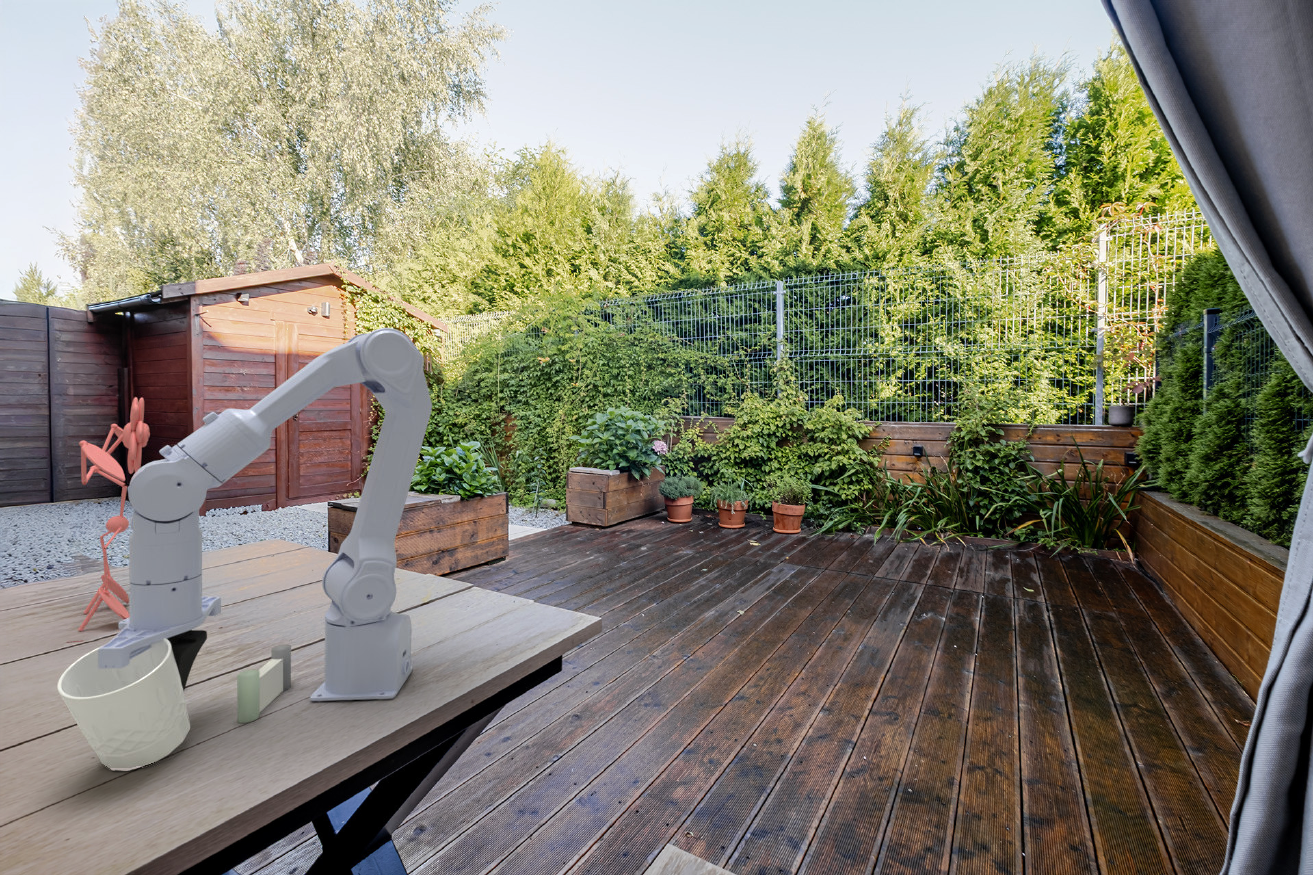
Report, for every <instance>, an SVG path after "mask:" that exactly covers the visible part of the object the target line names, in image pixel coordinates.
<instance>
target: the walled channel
mask: <svg viewBox="0 0 1313 875" xmlns="http://www.w3.org/2000/svg"><path fill="white" fill-rule="evenodd" d="M270 658H271V660H269V661H268V662H267V663H265V664H264V665H263V666H262V667H260V668H259V669H248V670H245V671H241V672H239V673H238V674H237V675H236V676H237V677H236V678H237V680H236V681H237V682H236V683H237V684H236V685H237V689H236V690H237V693H236V694H237V703H236V705H237V706H236V707H237V709H236V710H237V713H236V716H237V723H240V724H246V723H247V724H248V723H250V722H253V721H255V720H257V719H258V718H260V713H261V712H263V711H264V709H266V707H268V706H269V705H270V704H271V703H272V702H273V701H274V700H275V699H276V698H277V697H278V696H280V694H281V693H283V692H284V691H286V690H288V689H290V688H291V687H292V645H291V644H284V643H283V644H278V645H275V646H273V647H272V648H271V657H270Z"/></svg>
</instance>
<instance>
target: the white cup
mask: <svg viewBox="0 0 1313 875" xmlns="http://www.w3.org/2000/svg"><path fill="white" fill-rule="evenodd" d="M104 645H105V644H103V645H101V646H99V647H96V648H95V649H93V650H91V651H89V652H87V653H86V654H84V655H82V656H80V657H79V658H78V659H76V660H75V661H74V662H73V663H71V665H69V666H68V667H67V668H66V669H65V671H64V672H62V674H61V676H59V677H60V678H59V679H58V681H57V685H56V686H57V689H56V690H57V692H58V694H59V695H60V697H61V698H62V700H63V701H64V703H65V705H66V707H67V709H68V712H70V714H71V716H72V718H73V719H74V721H75V722H76V724H77V726H78V728H79V730H80V731H81V732H82V734H83V736H84V737H85V739H86V741H87V742H88V744H89V746H90V747H91V748H92V750H94V752H95V753H96V755H97V757H98V759H99V760H100V762H101V764H102V765H103V764H104V765H105V766H104V765H103V766H104V767H106V766H108V767H109V768H132V767H136V766H144V765H146V764H151V763H153V764H155V763H156V762H158V761H160V760H161V759H163V758H165V757H167V756H169V755H170V754H171V753H173V751H174V750H175V749H176V748H177V747H179V746H180V745H181V744H182V743H183V742H184V741H185V738H186V737H187V735H188V733H189V731H190V730H191V724H190V722H191V721H190V717H189V713H188V710H187V699H186V696H185V690H184V691H183V687H182V684H181V678H180V675H179V671H178V668H177V664H176V661H175V657H174V654H173V650H172V646H171V643H170V642H169V640H167V639H166V638H164V639H163V640H161V641H158V642H156V643H153V644H151V648H150V649H148V650H146V651H145V652H143V653H141V654H139V655H137V656H135V657H134V658H132V659H130V664H128V665H127V666H125V667H123V668H113V669H106V668H105V669H99V668H98V648H100V647H102V646H104ZM154 762H155V763H154ZM151 765H152V764H151Z"/></svg>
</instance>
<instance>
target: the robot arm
mask: <svg viewBox="0 0 1313 875" xmlns="http://www.w3.org/2000/svg"><path fill="white" fill-rule="evenodd" d="M424 362H425V358H424V356H423V354H422V353H421V352H420V350H419V349H418V347H417V346H416V345H415V343H414V342H413V341H412V340H411V339H410V337H409V336H408V335H406V334H405V333H404V332H402V331H401V330H398V329H395V328H392V327H391V328H390V327H382V328H377V329H375V330H373V331H371V332H367V333H360V334H357V335H355V336H353V337H351V338H350V339H349V340H348V341H347V342H346V343H342V344H339V345H337V346H335V347H334V348H330V349H329V350H328V351H325V352H324V353H322V354H320V355H319V356H317V357H316V358H314V359H313V360H311V361H310V362H309V363H308V364H306V365H305V366H304V367H302V368H301V369H300V370H299V371H297V372H296V373H294V375H292V376H291V377H289V378H288V379H287V380H285V381H284V382H282V383H281V384H280V385H279V386H278V387H276V388H275V389H273V390H272V391H271V392H270V393H269V394H268V395H266V396H265V397H263V398H262V399H261V400H260V401H258V402H257V403H255V404H254V405H253V406H252V407H250V408H249V409H242V408H241V409H239V408H226V409H225V410H224V411H222V412H220V413H219V414H217V413H216V412H215V411H211V412H210V413H208V414H207V415H206V416H204V417H203V418H202V422H204V423H205V424H203V425H202V426H200V427H199V428H198V429H197V430H195V431H194V432H192V433H191V434H190V435H188V436H187V437H185V438H183V439H182V440H181V441H179V442H177V444H175V445H174V446H172V447H171V445H168V444H167V445H165V446H163V447H162V448H161V449H160V450H159V454H160V455H161V456H163V457H164V459H160V460H159V459H158V460H153V461H151V462H148V463H146V464H145V465H143V466H140V469H139V470H138V471H137V472H136V473H135V472H134V474H133V476H132V477H131V479H130V482H129V486H127V493H128V494H127V495H128V501H129V503H130V505H131V506H132V509H133V511H132V512H133V513H132V515H131V517H130V521H129V526H130V529H131V530H132V533H131V534H130V535H129V537H128V545H129V546H128V548H129V549H128V552H129V553H128V562H129V563H128V566H129V567H128V569H129V570H128V571H129V572H128V573H129V575H128V576H129V577H128V578H129V579H128V580H129V581H128V582H129V586H128V587H129V589H128V591H129V595H128V598H129V603H128V604H129V615H130V617H129V618H127V619H125V620H124V619H122V620H120V621H119V622H118V630H120V631H119V632H118V633H117V634H115V636H114V637H112V639H111V640H110V641H108V642H107V643H105V644H103V645H104V646H103V645H101V646H102V647H101V646H99V647H100V648H99V647H97V648H98V668H99V669H105V668H106V669H113V668H123V667H125V666H127V665H128V664H130V659H132V658H134V657H135V656H137V655H139V654H141V653H143V652H145V651H146V650H148V649H150V648H151V644H153V643H156V642H158V641H161V640H163V639H164V638H166V639H167V640H169V642H170V643H171V646H172V650H173V654H174V657H175V661H176V664H177V668H178V671H179V675H180V678H181V684H182V687H183V691H184V692H185V691H186V685H187V683H188V679H189V676H190V672H191V671H192V670H191V669H192V667H193V665H194V662H195V660H196V658H197V656H198V654H199V652H200V650H201V648H202V647H203V646H204V644H205V642H206V641H207V639H208V632H207V630H204V629H201V630H199V629H197V628H198V627H199V626H201V625H203V624H204V623H205V622H206V619H207V618H209V617H213V616H214V617H215V616H218V615H219V614H221V612H222V608H221V607H222V597H221V596H203V531H202V529H201V528H200V509H201V508H202V506H203V504H204V503H205V500H206V498H207V491H208V490H210V489H213V488H219V487H221V486H223V484H225V483H226V482H227V481H229V480H230V479H231V478H232V477H233V476H235V475H236V474H238V473H239V472H240V471H242V470H243V469H244V468H246V467H247V466H248V465H249V464H251V463H252V462H254V460H256V459H257V458H258V457H260V456H261V455H263V454H264V453H266V451H268V450H269V449H270V448H271V445H272V442H271V441H272V437H271V436H272V432H273V431H274V430H276V429H277V427H279V426H281V425H282V424H283V423H285V422H286V421H287V420H289V419H290V418H292V417H293V416H294V415H296V414H298V413H299V412H300V411H302V410H303V409H305V408H306V407H307V406H309V405H311V404H313V402H315V401H316V400H318V399H319V398H321V397H323V395H325V394H326V393H328V392H329V391H330V390H332V389H334V388H336V387H337V388H338V387H341V386H348V385H355V384H361V385H363V387H365V388H366V389H368V390H369V391H370V392H371V393H372V395H373V396H374V397H375V399H376V401H377V402H378V403H379V405H380V406H381V407H382V409H383V410H384V412H385V413H384V417H383V418H384V419H383V421H382V424H381V427H380V432H379V435H378V438H377V440H376V444H375V449H374V452H373V455H372V458H371V462H370V466H369V469H368V472H367V475H366V479H365V482H364V486H363V489H362V491H361V497H360V499H359V503H358V506H357V509H356V513H355V516H354V519H353V524H352V526H351V530H350V532H349V534H348V535H347V536H346V538H345V539H344V540H342V542H341V545H340V547H339V550H338V552H337V555H336V557H335V558H334V560H333V561H332V562H331V563H330V564H329V565H328V566H327V567H326V569H325V571H324V573H323V576H322V579H321V580H322V581H321V583H322V584H321V586H322V589H323V592H324V594H325V595H326V597H328V598H329V599H330V600H331V603H330V606H329V608H328V609H327V611H326V613H325V615H324V682H322V683H321V685H320V686H318V688H317V689H316V690H315V691H314V692H313V693H312V694H311V695H310V697H309V700H310V701H311V702H317V701H318V702H320V701H321V702H325V701H354V700H356V701H357V700H358V701H359V700H386V699H387V700H388V699H390V700H391V699H395V697H396V696H397V695H398V693H399V692H400V690H401V688H402V687H403V685H404V684H405V682H406V680H407V679H408V677H409V676H410V675H411V673H412V671H413V669H414V668H413V666H412V630H413V629H412V620H411V619H412V618H411V616H410V615H409V614H404V613H398V612H394V611H392V610H391V608H392V606H393V605H394V603H395V600H396V597H397V586H396V582H395V572H396V569H397V564H398V560H397V555H396V548H395V540H396V536H397V533H398V530H399V526H400V523H401V519H402V516H403V513H404V510H405V505H406V502H407V498H408V494H409V491H410V488H411V483H412V481H413V477H414V474H415V470H416V466H417V463H418V461H419V460H418V459H419V456H420V453H421V449H422V446H423V442H424V438H425V435H426V432H427V428H428V424H429V421H430V417H431V414H432V408H433V404H432V399H431V396H430V391H429V387H428V384H427V379H426V376H425V373H424V364H425V363H424ZM196 629H197V630H196Z"/></svg>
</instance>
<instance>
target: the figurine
mask: <svg viewBox="0 0 1313 875" xmlns="http://www.w3.org/2000/svg"><path fill="white" fill-rule="evenodd" d="M144 415H145V400H144V397H140V398H139V399H138V397H136V396H135V397H133V399H132V403H131V407H130V416H129V418H130V420H129V422H127V424H126V425H124V427H123V428H122V427H120V426H118V424H116V423H112V424H110V429H109V432H108V435H107V437H106V439H105V442H104V444H103V446H102V448H100V447H99V446H97V445H95V444H92V443H90V442H87V441H86V440H80V441H79V442H78V444H79V446H80V469H81V470H80V472H81V473H80V476H81V477H80V479H81V485H83V486H85V485H87V484H88V482H89V480H90V479H91V477H92V476H93V475H94V473H95V474H97V473H98V474H99V475H100V476H103V477H104V478H106V479H108V480H109V481H111V482H113V483H115V484H116V485H118V486H120V487H122V488H121V489H122V490H121V498H120V509H119V515H115V516H112V517H111V518H108V520H107V522H106V523H105V528H106V529H107V532H105V533H103V534H102V535H100V536H99V540H100V541H99V542H100V545H101V549H102V558H103V572H104V573H103V574H102V575H101V576H100V579H101V581H102V584H101V586H100V587H99V588H98V589H97V591H96V593H95V595H94V596H93V597H92V599H91V600H90V602H89V603H88V605H87V606H86V608H85V609H84V611H83V612H82V613H83V614H86V615H87V616H86V617H85V619H84V620H83V622H82V623H81V624H80V626H79V627H78V629H77V630H78V631H80V632H83V631H84V629H85V628H86V627H87V625H88V623H89V622H90V620H91V619H92V617H93V616H94V614H95V613H96V612H97V610H98V608H99V606H100V605H101V603H103V602H104V603H105V605H107V606H108V608H109V609H111V611H112V612H114V613H115V614H116V615H117V616H118V617H120V618H121V619H122V620H125V619H127V618H129V617H130V612H129V611H128V610H127V609H126V607H125V606H124V604H123V603H121V602H120V600H122V601H123V602H124V603H125V604H126V605H128V604H129V595H128V594H127V592H126V590H125V589H124V588H123V587H122V586H121V585H120V584H119V583H118V582H117V581H116V580H114V577H113V576H111V571H110V565H109V561H108V555H107V548H108V547H109V545H110V544H111V543H112V542H113V541H114V539H115V538H116V537H117V536H118V534H120V533H124V532H125V531H126V530H127V529H128V527H129V526H130V521H129V519H127V518H126V517H125V516H124V512H125V511H124V510H125V505H126V504H125V503H126V496H127V492H128V486H127V485H126V483H125V481H126V477H125V473H124V470H123V468H122V466H121V465H120V463H119V462H118V461H117V460H116V459H115V458H114V457H113V456H112V455H111V454H112V453H113V452H114V451H115V449H116V448H117V447H118V446H119V444H121V442H122V443H123V446H124V447H125V448H127V449H128V451H127V469H128V473H129V474H130V475H132V474H133V473H134V474H135V473H136V472H137V471H138V470H139V469H140V468H141V467H142V466H141V464H142V452H143V450H142V448H145V447H146V446H148V441H149V438H150V436H151V433H150V427H149V425H148V424H147V423H145V422H144V419H145V418H144V417H145V416H144ZM114 434H115V435H116V436H117V440H116V441H114V443H113V444H112V445H111V447H110V448H109V449H108V446H109V444H110V442H111V439H112V437H113V435H114ZM107 449H108V450H107ZM87 459H88V460H89V461H90V463H92V464H93V465H92V466H90V468H89V471H88V473H87ZM111 533H113V535H112V536H111V538H110V539H109V540H107V542H106V544H105V540H104V537H106V536H108V535H109V534H111ZM114 595H115V596H114ZM119 599H120V600H119ZM78 642H79V643H81V642H84V640H83V639H81V640H73V641H66V644H69V643H78Z"/></svg>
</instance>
